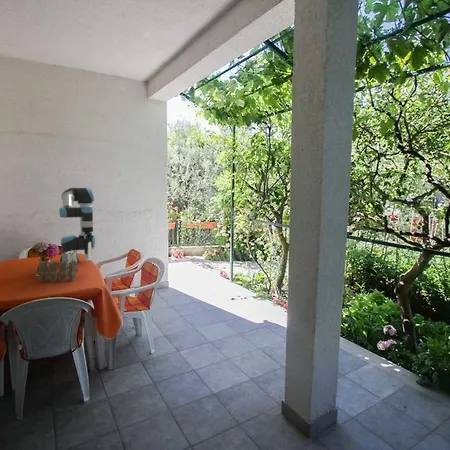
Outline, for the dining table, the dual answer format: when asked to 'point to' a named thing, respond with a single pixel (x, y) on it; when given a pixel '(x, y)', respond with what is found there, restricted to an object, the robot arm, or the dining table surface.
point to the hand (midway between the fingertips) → (88, 256)
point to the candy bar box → (69, 259)
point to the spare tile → (89, 252)
